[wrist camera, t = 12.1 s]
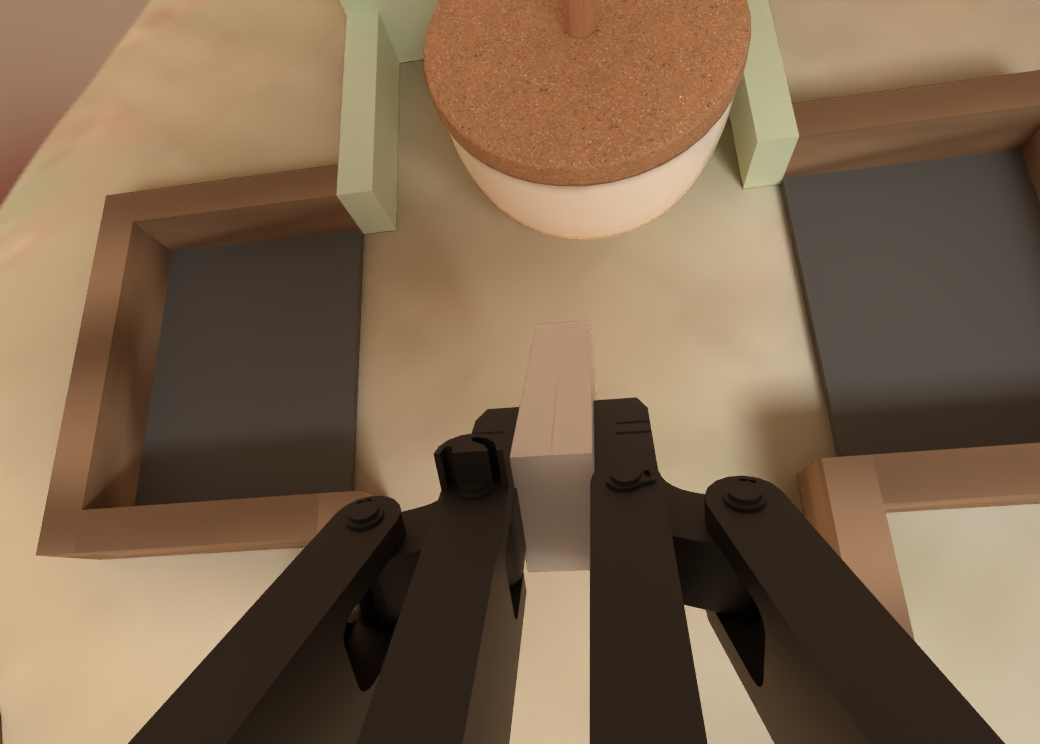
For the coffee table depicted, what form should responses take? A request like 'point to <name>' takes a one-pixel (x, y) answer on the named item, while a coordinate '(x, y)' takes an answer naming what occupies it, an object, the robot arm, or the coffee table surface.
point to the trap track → (373, 207)
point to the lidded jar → (585, 102)
